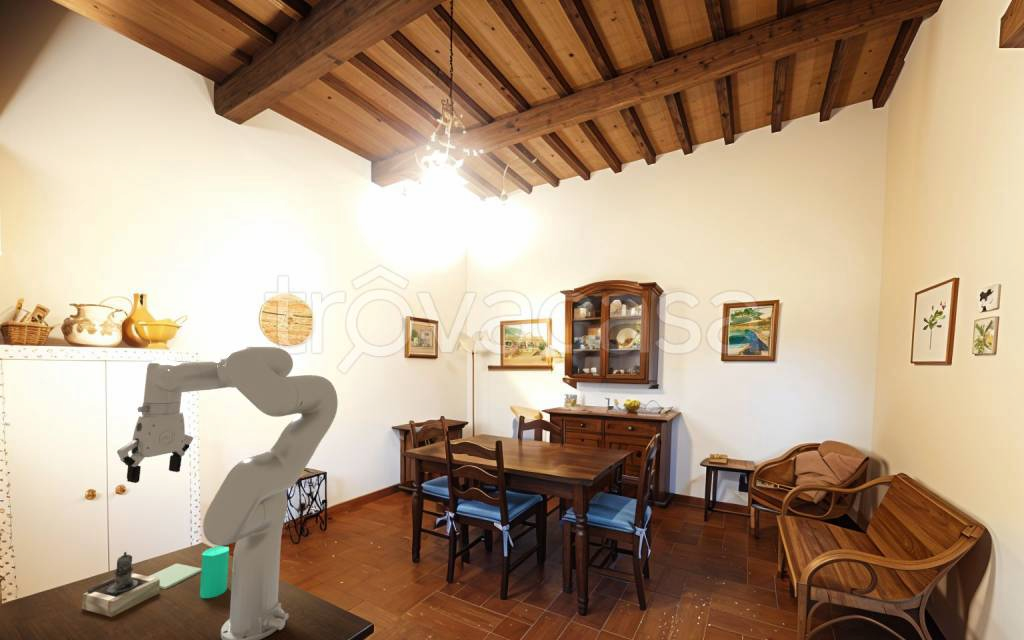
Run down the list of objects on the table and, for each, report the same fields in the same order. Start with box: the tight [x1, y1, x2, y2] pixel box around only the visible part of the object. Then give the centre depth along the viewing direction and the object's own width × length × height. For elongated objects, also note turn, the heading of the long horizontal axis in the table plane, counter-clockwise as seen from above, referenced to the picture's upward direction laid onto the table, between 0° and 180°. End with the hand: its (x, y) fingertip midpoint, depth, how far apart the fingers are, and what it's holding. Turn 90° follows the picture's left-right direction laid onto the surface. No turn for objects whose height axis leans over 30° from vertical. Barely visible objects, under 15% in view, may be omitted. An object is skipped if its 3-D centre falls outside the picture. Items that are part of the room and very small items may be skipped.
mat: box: [147, 563, 202, 590], centre depth 120 cm, size 10×10×1 cm
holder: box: [81, 572, 160, 618], centre depth 108 cm, size 10×10×4 cm
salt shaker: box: [107, 551, 138, 597], centre depth 109 cm, size 6×6×12 cm
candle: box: [199, 545, 230, 599], centre depth 113 cm, size 6×6×12 cm
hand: (154, 476), depth 109 cm, fingers open, 9 cm apart
